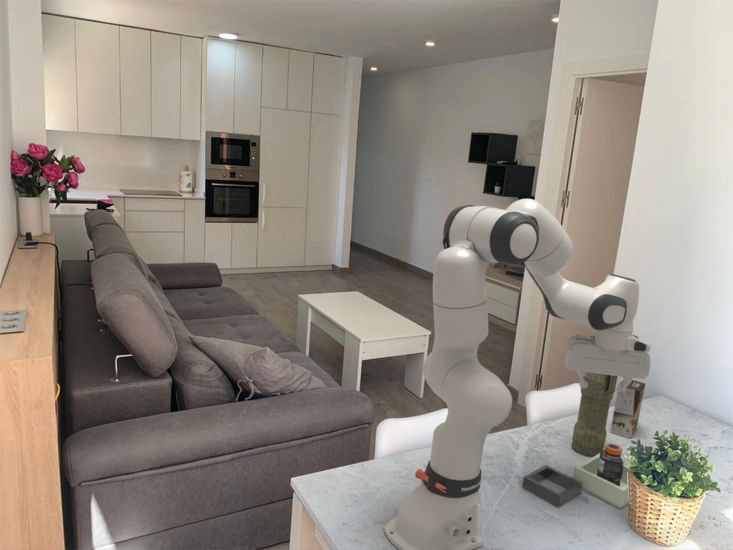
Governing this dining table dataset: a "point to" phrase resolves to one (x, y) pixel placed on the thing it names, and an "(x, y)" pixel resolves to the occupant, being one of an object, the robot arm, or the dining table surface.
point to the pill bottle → (611, 464)
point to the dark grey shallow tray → (548, 494)
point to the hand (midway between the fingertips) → (601, 390)
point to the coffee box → (627, 409)
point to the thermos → (593, 414)
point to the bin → (602, 483)
